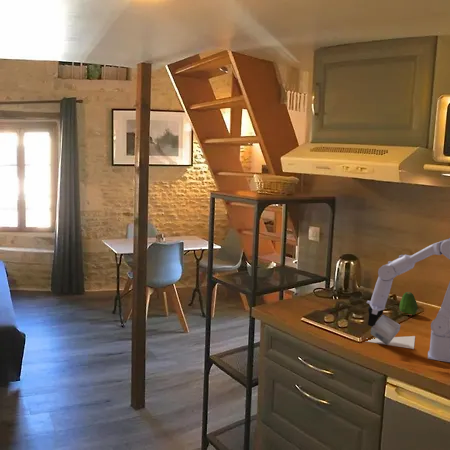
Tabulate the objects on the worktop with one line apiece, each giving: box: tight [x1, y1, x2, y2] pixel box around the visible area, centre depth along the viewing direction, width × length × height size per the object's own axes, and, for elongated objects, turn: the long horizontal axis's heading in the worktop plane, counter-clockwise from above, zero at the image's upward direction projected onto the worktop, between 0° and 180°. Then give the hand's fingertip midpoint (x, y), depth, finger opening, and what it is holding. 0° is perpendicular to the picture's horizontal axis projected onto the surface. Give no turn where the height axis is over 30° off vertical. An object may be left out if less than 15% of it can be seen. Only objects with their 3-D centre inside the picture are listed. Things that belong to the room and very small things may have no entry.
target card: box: [366, 335, 416, 350], centre depth 205 cm, size 20×20×1 cm
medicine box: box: [370, 314, 402, 346], centre depth 197 cm, size 8×4×9 cm
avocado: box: [399, 291, 418, 316], centre depth 235 cm, size 8×8×12 cm
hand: (370, 325), depth 198 cm, fingers closed, pressing on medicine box
